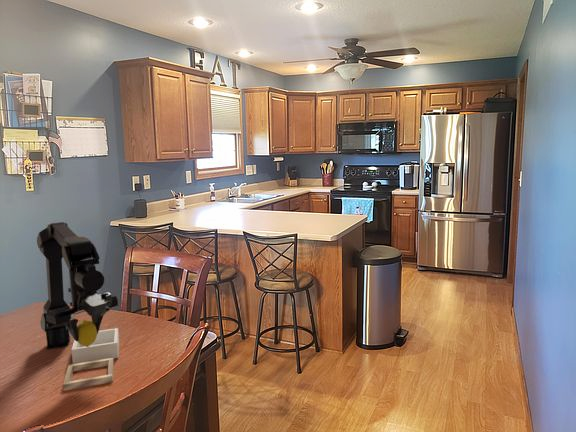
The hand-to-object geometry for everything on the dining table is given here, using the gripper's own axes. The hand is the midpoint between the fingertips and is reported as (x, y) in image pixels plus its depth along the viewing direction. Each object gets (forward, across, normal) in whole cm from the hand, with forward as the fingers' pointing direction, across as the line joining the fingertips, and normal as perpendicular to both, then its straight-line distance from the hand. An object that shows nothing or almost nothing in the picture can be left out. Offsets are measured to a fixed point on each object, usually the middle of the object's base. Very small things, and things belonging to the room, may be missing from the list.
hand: (86, 337), depth 128 cm
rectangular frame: (+12, 0, 0) cm, 12 cm away
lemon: (+3, 0, 0) cm, 3 cm away
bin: (+12, +10, +13) cm, 20 cm away
